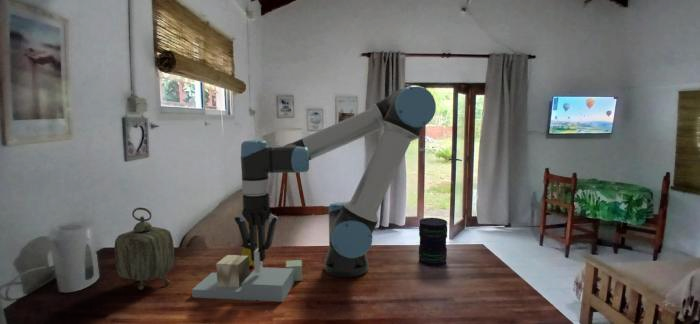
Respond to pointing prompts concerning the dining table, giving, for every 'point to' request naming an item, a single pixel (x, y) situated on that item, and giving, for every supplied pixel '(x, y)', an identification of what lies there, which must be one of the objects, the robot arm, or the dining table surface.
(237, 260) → the birch cube
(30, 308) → the dining table surface
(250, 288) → the stair
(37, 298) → the dining table surface
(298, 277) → the sage cube
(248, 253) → the lemon
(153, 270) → the tabletop clock
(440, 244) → the storage jar
